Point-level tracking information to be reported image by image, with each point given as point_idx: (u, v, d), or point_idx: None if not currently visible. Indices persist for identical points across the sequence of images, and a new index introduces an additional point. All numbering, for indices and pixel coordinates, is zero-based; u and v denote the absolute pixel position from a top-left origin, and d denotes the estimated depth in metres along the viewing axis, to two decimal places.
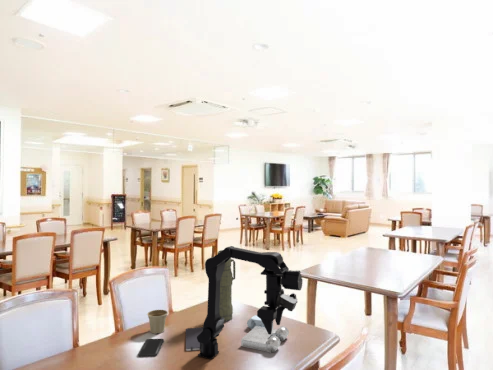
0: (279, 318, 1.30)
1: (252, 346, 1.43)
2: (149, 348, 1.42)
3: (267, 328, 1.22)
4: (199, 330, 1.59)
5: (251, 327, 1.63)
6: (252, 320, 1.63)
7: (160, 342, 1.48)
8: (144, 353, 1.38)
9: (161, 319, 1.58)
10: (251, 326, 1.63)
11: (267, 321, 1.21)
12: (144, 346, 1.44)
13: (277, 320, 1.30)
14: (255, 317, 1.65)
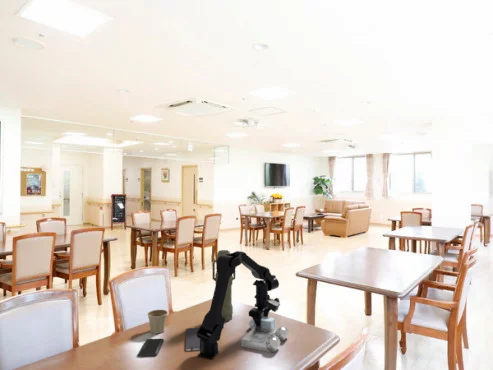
0: None
1: (252, 346, 1.43)
2: (149, 348, 1.42)
3: (257, 324, 1.60)
4: None
5: (253, 327, 1.63)
6: None
7: (160, 342, 1.48)
8: (144, 353, 1.38)
9: (161, 319, 1.58)
10: (253, 326, 1.63)
11: (257, 319, 1.59)
12: (144, 346, 1.44)
13: None
14: None
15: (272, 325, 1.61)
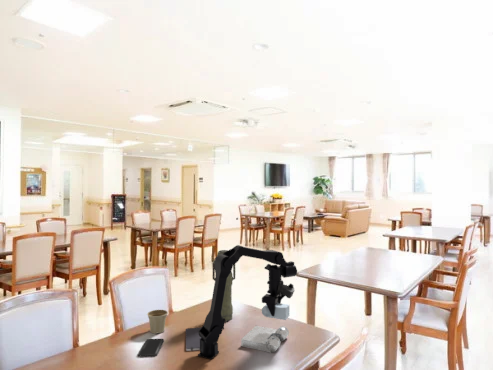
0: None
1: (252, 346, 1.43)
2: (149, 348, 1.42)
3: (271, 311, 1.50)
4: None
5: (266, 314, 1.52)
6: (267, 307, 1.52)
7: (160, 342, 1.48)
8: (144, 353, 1.38)
9: (161, 319, 1.58)
10: (266, 313, 1.52)
11: (271, 305, 1.50)
12: (144, 346, 1.44)
13: None
14: None
15: (287, 312, 1.51)
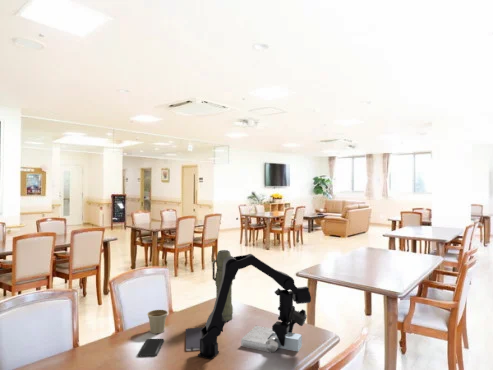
0: (290, 331, 1.49)
1: (252, 346, 1.43)
2: (149, 348, 1.42)
3: (281, 340, 1.40)
4: (199, 330, 1.59)
5: None
6: None
7: (160, 342, 1.48)
8: (144, 353, 1.38)
9: (161, 319, 1.58)
10: None
11: (281, 334, 1.40)
12: (144, 346, 1.44)
13: None
14: None
15: (299, 343, 1.42)
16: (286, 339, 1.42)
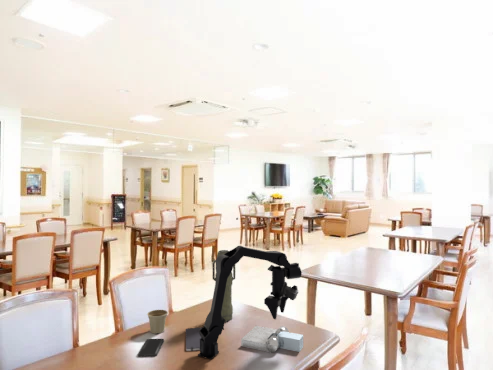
0: (283, 306, 1.55)
1: (252, 346, 1.43)
2: (149, 348, 1.42)
3: (272, 314, 1.46)
4: (199, 330, 1.59)
5: None
6: (280, 337, 1.43)
7: (160, 342, 1.48)
8: (144, 353, 1.38)
9: (161, 319, 1.58)
10: None
11: (272, 308, 1.46)
12: (144, 346, 1.44)
13: (281, 308, 1.55)
14: (283, 334, 1.46)
15: (301, 343, 1.42)
16: (288, 339, 1.42)
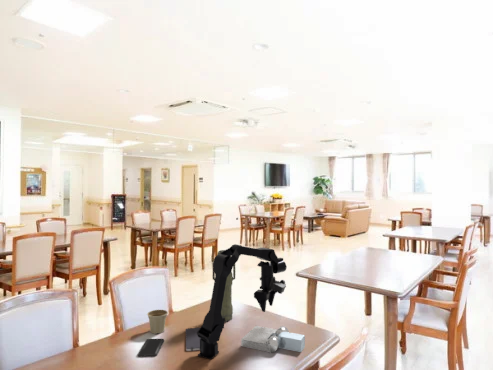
0: (271, 300, 1.64)
1: (252, 346, 1.43)
2: (149, 348, 1.42)
3: (262, 307, 1.55)
4: None
5: (280, 346, 1.43)
6: (281, 338, 1.43)
7: (160, 342, 1.48)
8: (144, 353, 1.38)
9: (161, 319, 1.58)
10: (280, 344, 1.43)
11: (262, 301, 1.55)
12: (144, 346, 1.44)
13: (270, 302, 1.64)
14: (284, 334, 1.45)
15: (302, 343, 1.42)
16: (289, 340, 1.42)
